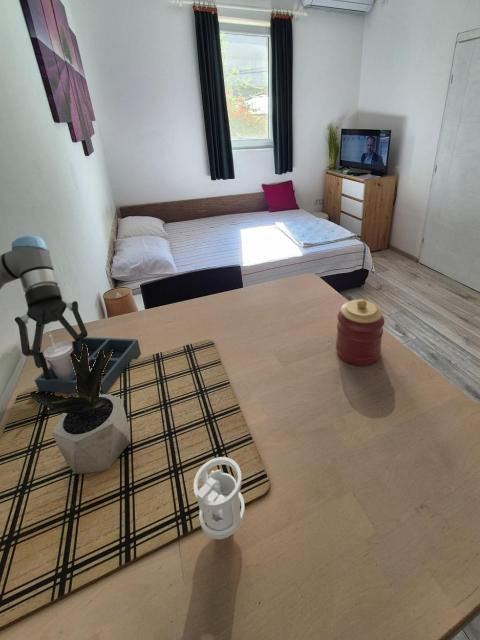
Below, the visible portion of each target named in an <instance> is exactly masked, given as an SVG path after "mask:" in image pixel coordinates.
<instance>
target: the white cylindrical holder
mask: <svg viewBox="0 0 480 640" xmlns="http://www.w3.org/2000/svg"><path fill="white" fill-rule="evenodd" d="M220 465H224V466H228V467H231V468H232V469H233V471H235V473H236V475H237V480H236V478H235V477H234V476H233V475H232V474H229V473H227V472H223V471H222V470H223V469H221V468H220V469H216V470H211V471H210V473H208V471H209V469H211V468H213V467H215V466H220ZM199 481H200V483H201V487H200V488H199ZM242 484H243V477H242V471H241V468H240V466H239V464H238V463H237V461H235V460H234V459H232V458H230V457H226V456H217V457H214V458H212V459H210V460H208V461H206V462H205V463H203V465H201V466H200V467H199V469H198V470H197V472H196V474H195V476H194V479H193V493H194V497H195V500H196V501H197V503H198V504H197V505H198V508H199V514H198V516H199V517H198V518H199V523H200V527H201V530H202V532H203V533H204V534H205V535H206V536H207V537H208V538H210V539H213V540H224V539H227V538H229V537H230V536H232V535H233V534H235V533H236V532H237V531H238V529H239V528H240V527H241V525H242V523H243V520H244V519H245V513H246V508H245V507H246V506H245V499H244V497H243V494H242V493H241V488H242Z"/></svg>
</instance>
